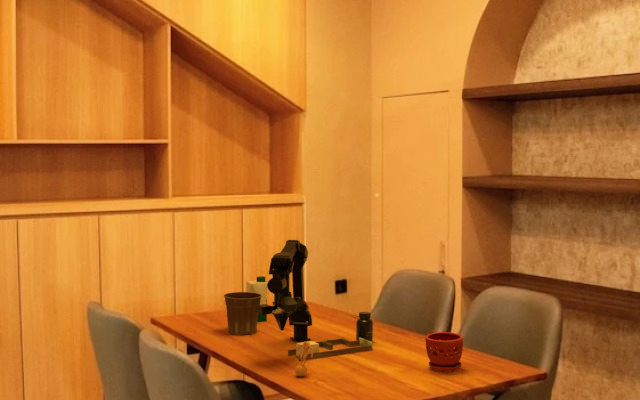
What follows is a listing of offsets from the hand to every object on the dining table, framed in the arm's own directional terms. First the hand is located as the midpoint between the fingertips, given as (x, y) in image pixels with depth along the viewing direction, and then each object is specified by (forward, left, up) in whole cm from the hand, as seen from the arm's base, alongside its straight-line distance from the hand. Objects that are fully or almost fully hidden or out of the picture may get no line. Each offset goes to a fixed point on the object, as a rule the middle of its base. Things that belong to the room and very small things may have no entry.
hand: (281, 330), depth 287 cm
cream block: (0, +11, -11) cm, 16 cm away
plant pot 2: (+39, +45, -11) cm, 61 cm away
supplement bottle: (-8, +42, -11) cm, 44 cm away
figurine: (+22, -3, -11) cm, 25 cm away
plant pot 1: (-48, +6, -11) cm, 50 cm away
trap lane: (-3, +21, -11) cm, 24 cm away
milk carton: (-66, +21, -11) cm, 70 cm away
